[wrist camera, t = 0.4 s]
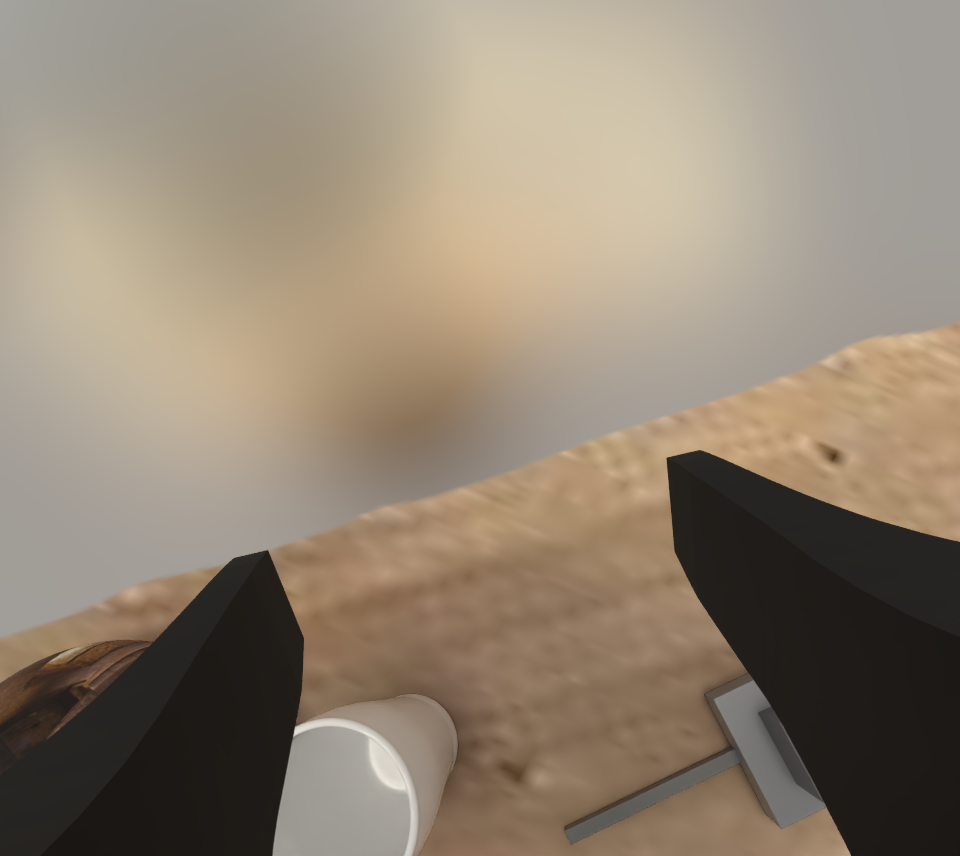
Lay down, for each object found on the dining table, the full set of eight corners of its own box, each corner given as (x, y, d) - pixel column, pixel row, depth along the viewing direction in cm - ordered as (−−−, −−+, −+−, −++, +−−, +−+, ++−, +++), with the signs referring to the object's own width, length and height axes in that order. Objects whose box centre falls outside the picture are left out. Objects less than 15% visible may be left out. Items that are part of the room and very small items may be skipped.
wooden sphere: (239, 970, 36) (30, 1205, 22) (18, 848, 39) (-296, 983, 25) (350, 693, 39) (232, 737, 25) (138, 599, 42) (-78, 590, 28)
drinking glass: (486, 789, 37) (441, 898, 23) (370, 824, 37) (253, 954, 23) (453, 664, 39) (393, 692, 25) (343, 698, 39) (220, 745, 25)
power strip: (1088, 659, 36) (1188, 667, 30) (595, 898, 35) (602, 952, 29) (1009, 547, 37) (1090, 535, 32) (541, 772, 37) (538, 800, 31)
